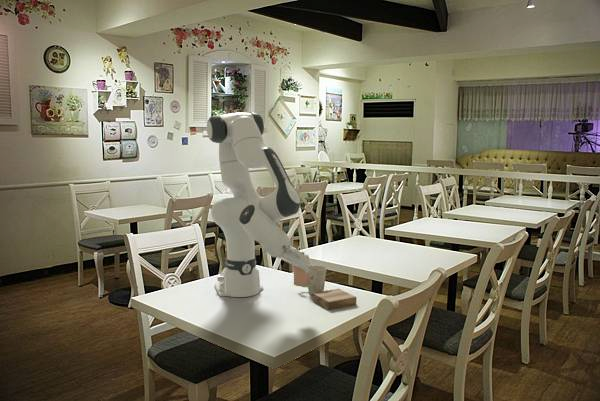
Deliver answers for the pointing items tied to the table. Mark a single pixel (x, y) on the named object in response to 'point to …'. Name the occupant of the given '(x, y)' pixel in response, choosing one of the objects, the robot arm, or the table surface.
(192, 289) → the table surface
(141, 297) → the table surface
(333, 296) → the pedestal
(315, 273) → the mug
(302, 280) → the canister
